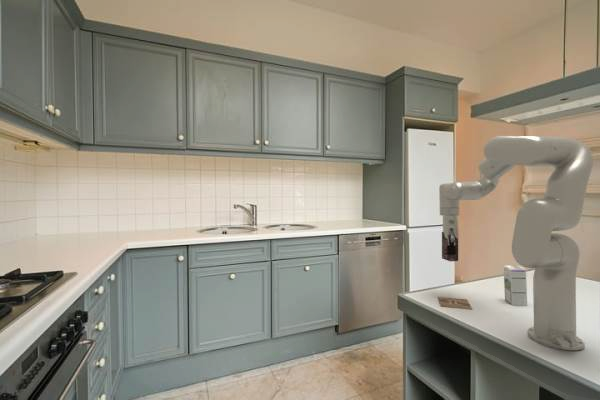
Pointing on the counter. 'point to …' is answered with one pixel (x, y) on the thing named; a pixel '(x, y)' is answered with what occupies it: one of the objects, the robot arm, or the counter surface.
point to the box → (444, 249)
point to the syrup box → (515, 285)
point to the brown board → (454, 303)
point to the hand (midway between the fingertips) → (450, 252)
